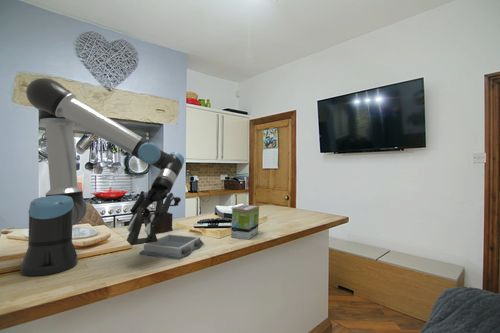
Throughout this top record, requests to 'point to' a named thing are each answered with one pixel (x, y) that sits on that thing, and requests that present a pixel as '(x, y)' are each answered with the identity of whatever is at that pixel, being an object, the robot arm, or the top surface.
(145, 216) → the dark grey triangular stand
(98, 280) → the top surface
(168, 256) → the tray
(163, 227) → the dark brown handled box
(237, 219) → the tea box
